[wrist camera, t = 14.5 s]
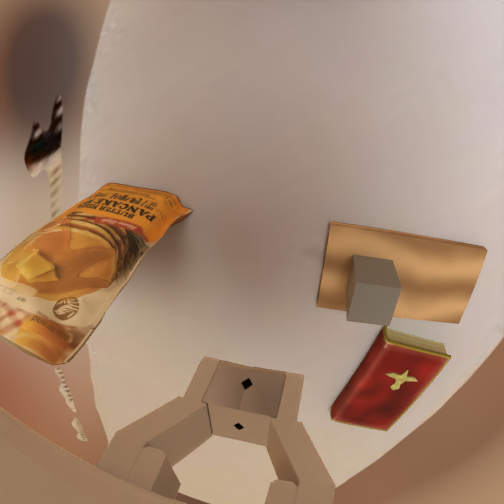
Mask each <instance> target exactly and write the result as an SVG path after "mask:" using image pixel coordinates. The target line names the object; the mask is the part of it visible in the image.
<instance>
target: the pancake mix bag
mask: <svg viewBox="0 0 504 504" xmlns="http://www.w3.org/2000/svg"><path fill="white" fill-rule="evenodd" d="M192 211H193V210H191V209H188V208H186V207H183V206H182V204H181V202H180V200H179V198H178V197H177V196H176V195H173V194H171V193H168V192H164V191H158V190H152V189H146V188H140V187H133V186H128V185H123V184H116V183H107V184H106V185H104V186H103V187H101V188H100V189H99V190H98V191H96V192H95V193H94V194H92V195H91V196H90V197H88V198H86V199H84V200H82V201H80V202H79V203H77V204H76V205H74V206H73V207H71V208H69V209H68V210H66V211H65V212H63V213H62V214H61V215H59V216H58V217H56V218H54V219H53V220H51V221H50V222H48V223H47V224H45V225H44V226H42V227H41V228H39V229H38V230H37V231H35V232H34V233H32V234H31V235H29V236H28V237H27V238H26V239H25V240H24V241H23V242H21V243H20V244H19V245H18V246H16V247H15V248H14V249H12V250H11V251H10V252H9V253H8V254H7V255H6V256H5V257H4V258H3V259H2V260H1V261H0V339H1V340H3V341H4V342H6V343H8V344H10V345H12V346H14V347H16V348H17V349H19V350H21V351H23V352H24V353H26V354H28V355H30V356H33V357H35V358H37V359H39V360H42V361H44V362H46V363H48V364H50V365H59V364H65V363H66V362H70V361H71V360H72V359H73V358H74V356H75V355H76V354H77V353H78V352H79V350H80V349H81V348H82V347H83V346H84V344H85V343H86V341H87V340H88V339H89V337H90V336H91V335H92V333H93V332H94V331H95V329H96V328H97V327H98V325H99V324H100V323H101V321H102V318H103V316H104V314H105V312H106V310H107V309H108V308H109V306H110V305H111V304H112V302H113V301H114V300H115V298H116V297H117V296H118V294H119V293H120V292H121V290H122V289H123V288H124V286H125V285H126V284H127V283H128V281H129V280H130V278H131V277H132V275H133V273H134V272H135V270H136V268H137V266H138V265H139V263H140V261H141V259H142V258H143V256H144V255H145V253H146V252H147V251H148V250H149V249H150V248H151V247H152V246H153V245H154V244H156V243H157V242H158V241H159V240H160V239H161V238H162V237H163V235H164V234H165V232H166V230H167V229H168V228H169V227H170V226H172V225H174V224H176V223H178V222H180V221H182V220H183V219H184V218H185V217H187V216H188V215H189V214H190V213H191V212H192Z"/></svg>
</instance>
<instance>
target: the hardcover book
mask: <svg viewBox="0 0 504 504" xmlns="http://www.w3.org/2000/svg"><path fill="white" fill-rule="evenodd" d="M450 358H451V355H447V353H446V350H445V347H444V344H443V343H439V342H435V341H432V340H428V339H424V338H420V337H417V336H413V335H409V334H406V333H402V332H398V331H395V330H391V329H387V326H385V325H384V327H383V329H382V330H381V332H380V334H379V335H378V337H377V339H376V340H375V342H374V344H373V345H372V347H371V348H370V350H369V352H368V353H367V355H366V356H365V358H364V360H363V361H362V363H361V364H360V366H359V367H358V369H357V370H356V372H355V373H354V375H353V376H352V378H351V379H350V381H349V382H348V384H347V385H346V387H345V388H344V390H343V391H342V392H341V394H340V395H339V397H338V398H337V400H336V401H335V402H334V404H333V405H332V407H331V412H330V416H331V420H332V421H335V422H340V423H344V424H349V425H355V426H360V427H365V428H371V429H377V430H383V431H387V430H388V429H389V428H390V427H391V426H392V425H393V424H394V423H395V422H396V421H397V420H398V419H399V418H400V417H401V416H402V415H403V414H404V413H405V412H406V411H407V410H408V409H409V407H410V406H411V405H412V404H413V403H414V402H415V401H416V400H417V399H418V397H419V396H420V395H421V394H422V393H423V392H424V391H425V389H426V388H427V387H428V386H429V385H430V384H431V382H432V381H433V380H434V379H435V377H436V376H437V375H438V374H439V373H440V371H441V370H442V369H443V367H444V366H445V365H446V364H447V362H448V361H449V360H450Z"/></svg>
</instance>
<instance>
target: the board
mask: <svg viewBox="0 0 504 504" xmlns="http://www.w3.org/2000/svg"><path fill="white" fill-rule="evenodd" d="M486 253H487V250H486V248H485V247H483V246H478V245H472V244H467V243H462V242H456V241H451V240H445V239H439V238H434V237H428V236H422V235H416V234H410V233H404V232H398V231H391V230H385V229H379V228H372V227H365V226H359V225H352V224H345V223H338V222H330V229H329V235H328V242H327V249H326V255H325V261H324V267H323V273H322V279H321V285H320V290H319V296H318V302H317V307H321V308H329V309H336V310H343V311H346V287H347V282H348V278H349V273H350V268H351V263H352V258H353V254H354V255H361V256H368V257H375V258H382V259H388V260H393V263H394V266H395V269H396V272H397V275H398V278H399V281H400V285H401V288H402V289H401V292H400V295H399V299H398V302H397V305H396V308H395V311H394V314H393V316H392V317H399V318H408V319H417V320H427V321H437V322H447V323H457V324H459V322H460V320H461V317H462V315H463V313H464V311H465V308H466V306H467V304H468V301H469V299H470V296H471V294H472V292H473V289H474V287H475V284H476V281H477V279H478V276H479V273H480V271H481V268H482V265H483V262H484V259H485V256H486Z"/></svg>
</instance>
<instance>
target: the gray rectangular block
mask: <svg viewBox="0 0 504 504" xmlns="http://www.w3.org/2000/svg"><path fill="white" fill-rule="evenodd" d="M401 289H402V288H401V285H400V281H399V278H398V275H397V272H396V269H395V266H394V263H393V260H388V259H382V258H375V257H368V256H361V255H354V254H353V258H352V263H351V268H350V273H349V278H348V282H347V287H346V311H347V321H353V322H361V323H369V324H377V325H386V326H389V325H390V322H391V319H392V316H393V314H394V311H395V308H396V305H397V302H398V299H399V295H400V292H401Z"/></svg>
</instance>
